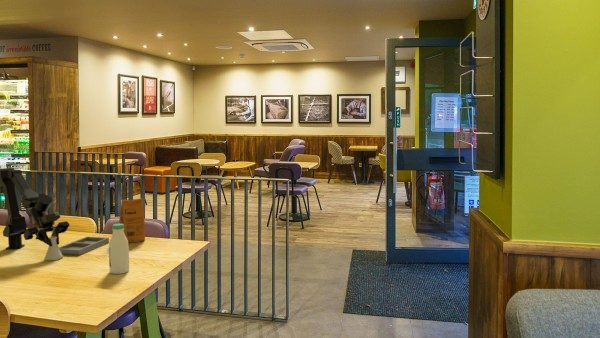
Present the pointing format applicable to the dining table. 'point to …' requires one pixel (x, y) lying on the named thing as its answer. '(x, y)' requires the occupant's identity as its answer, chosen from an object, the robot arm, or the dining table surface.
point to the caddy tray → (83, 245)
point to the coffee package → (133, 220)
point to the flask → (53, 250)
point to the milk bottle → (118, 250)
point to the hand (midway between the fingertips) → (54, 245)
